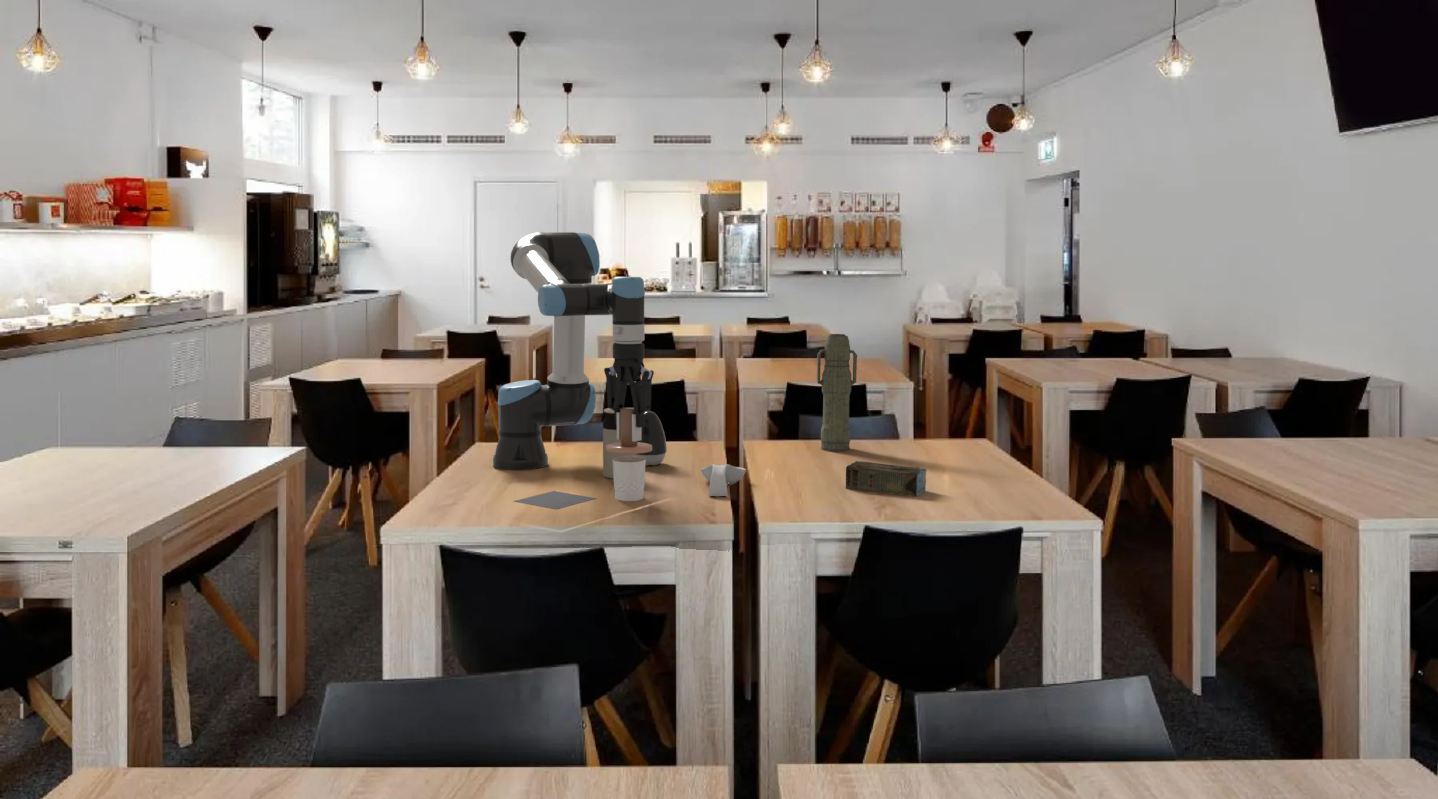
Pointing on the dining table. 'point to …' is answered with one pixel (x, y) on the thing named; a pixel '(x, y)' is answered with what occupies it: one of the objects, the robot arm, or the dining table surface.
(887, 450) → the dining table surface
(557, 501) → the mat
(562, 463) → the dining table surface
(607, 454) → the travel mug
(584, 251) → the robot arm
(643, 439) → the pump dispenser
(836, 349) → the thermos
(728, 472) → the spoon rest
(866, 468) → the beverage carton
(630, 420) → the lid
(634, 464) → the white cup
